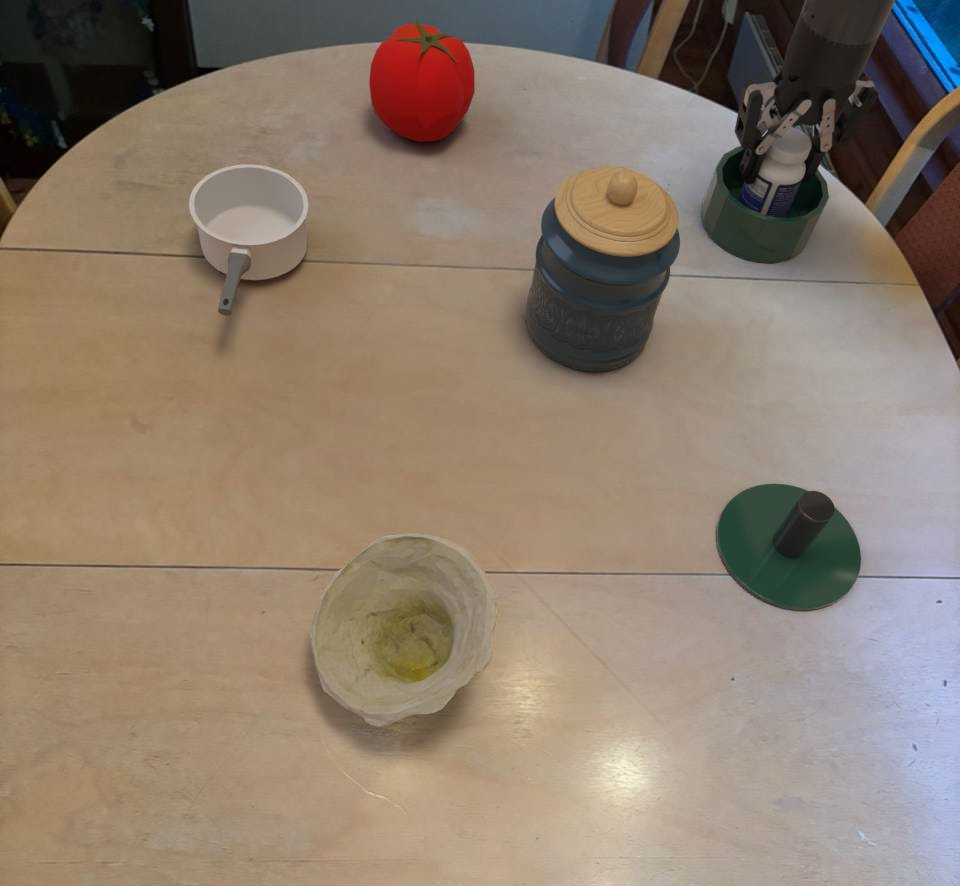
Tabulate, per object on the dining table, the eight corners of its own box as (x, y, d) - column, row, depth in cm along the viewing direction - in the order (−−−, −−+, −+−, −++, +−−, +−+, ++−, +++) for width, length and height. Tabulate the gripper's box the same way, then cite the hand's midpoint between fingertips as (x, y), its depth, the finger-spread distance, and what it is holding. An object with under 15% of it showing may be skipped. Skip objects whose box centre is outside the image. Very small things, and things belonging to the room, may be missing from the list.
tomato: (392, 167, 105) (393, 77, 96) (354, 103, 110) (352, 11, 101) (488, 146, 109) (499, 57, 99) (448, 85, 113) (455, -5, 104)
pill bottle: (781, 209, 108) (817, 128, 99) (780, 243, 106) (817, 163, 97) (732, 199, 108) (764, 117, 99) (729, 232, 105) (762, 151, 97)
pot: (750, 172, 111) (767, 130, 106) (830, 233, 108) (851, 192, 103) (679, 213, 107) (693, 171, 102) (760, 278, 103) (778, 238, 98)
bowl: (288, 615, 79) (277, 551, 70) (442, 564, 83) (450, 498, 74) (352, 773, 74) (349, 726, 65) (514, 711, 77) (532, 658, 68)
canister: (623, 274, 101) (668, 120, 86) (665, 365, 96) (722, 218, 80) (508, 289, 99) (533, 132, 83) (545, 383, 93) (579, 235, 78)
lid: (777, 467, 92) (807, 419, 85) (884, 561, 88) (923, 518, 81) (684, 538, 87) (708, 493, 80) (793, 641, 83) (827, 601, 77)
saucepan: (171, 346, 91) (160, 302, 86) (209, 205, 100) (200, 157, 95) (292, 359, 92) (287, 316, 87) (318, 218, 101) (315, 171, 96)
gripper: (784, 43, 84) (722, 205, 99) (928, 40, 87) (847, 198, 102) (757, -7, 87) (701, 157, 102) (897, -9, 90) (823, 152, 105)
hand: (774, 177), depth 102 cm, fingers closed on pill bottle, 5 cm apart
